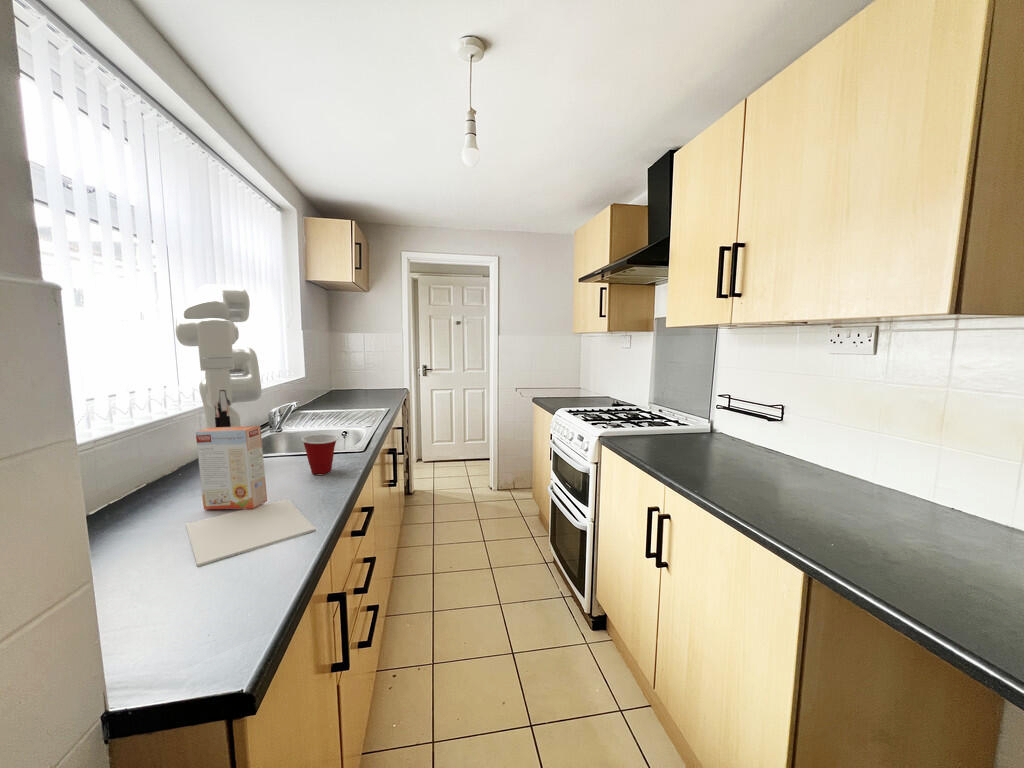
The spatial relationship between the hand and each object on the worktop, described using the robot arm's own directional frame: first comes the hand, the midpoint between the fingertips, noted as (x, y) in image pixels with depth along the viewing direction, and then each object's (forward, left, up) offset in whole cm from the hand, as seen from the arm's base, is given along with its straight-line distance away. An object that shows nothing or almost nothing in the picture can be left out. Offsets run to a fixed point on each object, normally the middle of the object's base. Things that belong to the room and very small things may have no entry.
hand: (223, 430), depth 115 cm
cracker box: (+10, 0, -19) cm, 21 cm away
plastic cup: (-3, +26, -19) cm, 32 cm away
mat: (+27, 0, -19) cm, 33 cm away
